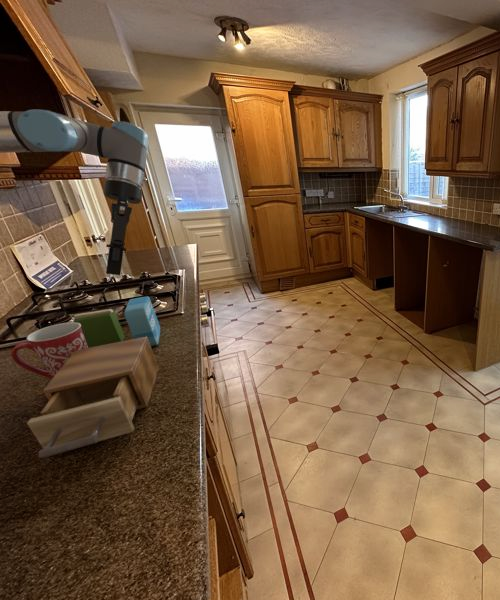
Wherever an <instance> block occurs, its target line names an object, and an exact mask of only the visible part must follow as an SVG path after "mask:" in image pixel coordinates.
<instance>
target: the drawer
mask: <svg viewBox="0 0 500 600" xmlns="http://www.w3.org/2000/svg"><path fill="white" fill-rule="evenodd" d="M138 403H139V398H138V396H137V394H136V391H135V389H134V387H133V384H132V382H131V380H130V377H129V375H125V376H121V377H117V378H112V379H108V380H104V381H99V382H95V383H91V384H86V385H82V386H78V387H73V388H69V389H65V390H60V391H56V392H55V394H54V395H53V397H52V398H51V399H50V401H49V400H48V402H47V403H46V405H45V406H44V407H43V409H42V410H41V412H40V413H39V414H40V416H36V417H32V418H29V419H28V422H26V424H27V426H28V427H29V429H30V430H31V433H32V434H33V435H34V437H35V439H36V440H37V442H38V443H39V445H40V446H41V448H42V449H40V450H39V451H38V458H39V459H41V460H42V459H45V458H49V457H53V456H56V455H60V454H63V453H67V452H69V451H73V450H77V449H79V448H83V447H86V446H91V445H94V444H97V443H98V442H102V441H106V440H109V439H112V438H113V439H114V438H116V437H120V436H123V435H126V434H130V433H133V432H134V431H135V426H134V423H133V419H134V417H135V413H136V411H137V410H136V408H137V406H138Z"/></svg>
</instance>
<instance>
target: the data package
mask: <svg viewBox="0 0 500 600" xmlns="http://www.w3.org/2000/svg"><path fill="white" fill-rule="evenodd" d="M123 313H124V314H123V315H124V319H125V321H126V323H127V325H128V328H129V330H130V333H131V335H132V339H137V338H142V337H147V338H148V341H149V343H150V346H151V347H154V346H158V345H159V341H160V336H161V326H160V323H159V320H158V316H157V315H156V311H155V309H154V306H153V303H152V301H151V298H150V297H149V296H147V295H146V296H140V297H136V298H130V299H129V300H128V303H127V305H126V307H125V309H124V311H123Z"/></svg>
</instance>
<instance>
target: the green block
mask: <svg viewBox="0 0 500 600" xmlns="http://www.w3.org/2000/svg"><path fill="white" fill-rule="evenodd" d="M73 317H74V318H73V321H72V322H75V323H80V324H81V329H82V332H83V335H84V337H85V340H86V343H87V346H88V348H91V347H96V346H101V345H106V344H111V343H116V342H121V341H124V340H125V337H126V336H125V333H124V331H123V328H122V326H121V323H120V321H119V319H118V316H117V314H116V311H115V309H112V308H107V309H102V310H95V311H90V312H83V313H77V314H75V315H74V316H73Z"/></svg>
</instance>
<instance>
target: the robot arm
mask: <svg viewBox="0 0 500 600" xmlns="http://www.w3.org/2000/svg"><path fill="white" fill-rule="evenodd" d="M46 152H47V153H50V152H72V153H73V152H74V153H81V154H86V155H90V156H95V157H100V158H103V159H107V162H106V165H105V175H104V178H105V181H104V183H103V184H104V185H103V195H104V196H105V197H107V198H108V199H111V200H114V201H115V203H112V202H111V207H110V213H111V217H110V222H111V223H112V226H111V235H110V243H109V244H108V243H107V244H106V248H108V255H107V263H106V271H105V274H106V275H113V276H115V275H116V276H121V272H122V264H123V258H124V257H123V256H124V252H126V251H127V248H126V247H125V245H126V243H125V240H126V234H127V233H126V232H127V226H128V225H129V222H130V217H131V215H132V211H133V207H130V206H129V204H132V205H137V204H141V203H142V201H143V199H142V198H143V190H142V189H143V187H144V182H147V180H148V178H147V177H145V174H146V165H147V159H148V153H149V135H148V133H147V132H146V131H145V130H144V129H143V128H141V127H140V126H137V125H136V124H134V123H132V122H131V123H130V122H128V121H121V120H115V121H113V122H112V124H111V126H110V127H108V126H107V127H106V126H102V125H99V124H95V123H92V122H88V121H85V120H82V119H78V118H75V117H71V116H68V115H65V114H62V113H57V112H54V111H51V110H48V109H36V108H35V109H34V108H33V109H28V110H26V111H9V110H8V111H7V110H4V111H3V110H1V111H0V154H6V153H7V154H9V153H10V154H11V153H46Z"/></svg>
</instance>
